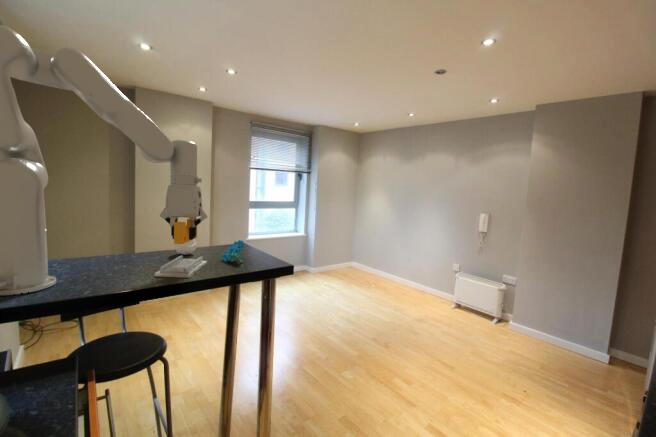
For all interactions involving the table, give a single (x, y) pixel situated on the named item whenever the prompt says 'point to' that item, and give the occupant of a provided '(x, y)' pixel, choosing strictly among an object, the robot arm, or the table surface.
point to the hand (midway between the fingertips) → (183, 238)
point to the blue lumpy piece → (233, 252)
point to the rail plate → (181, 267)
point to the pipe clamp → (182, 232)
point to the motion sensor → (186, 247)
